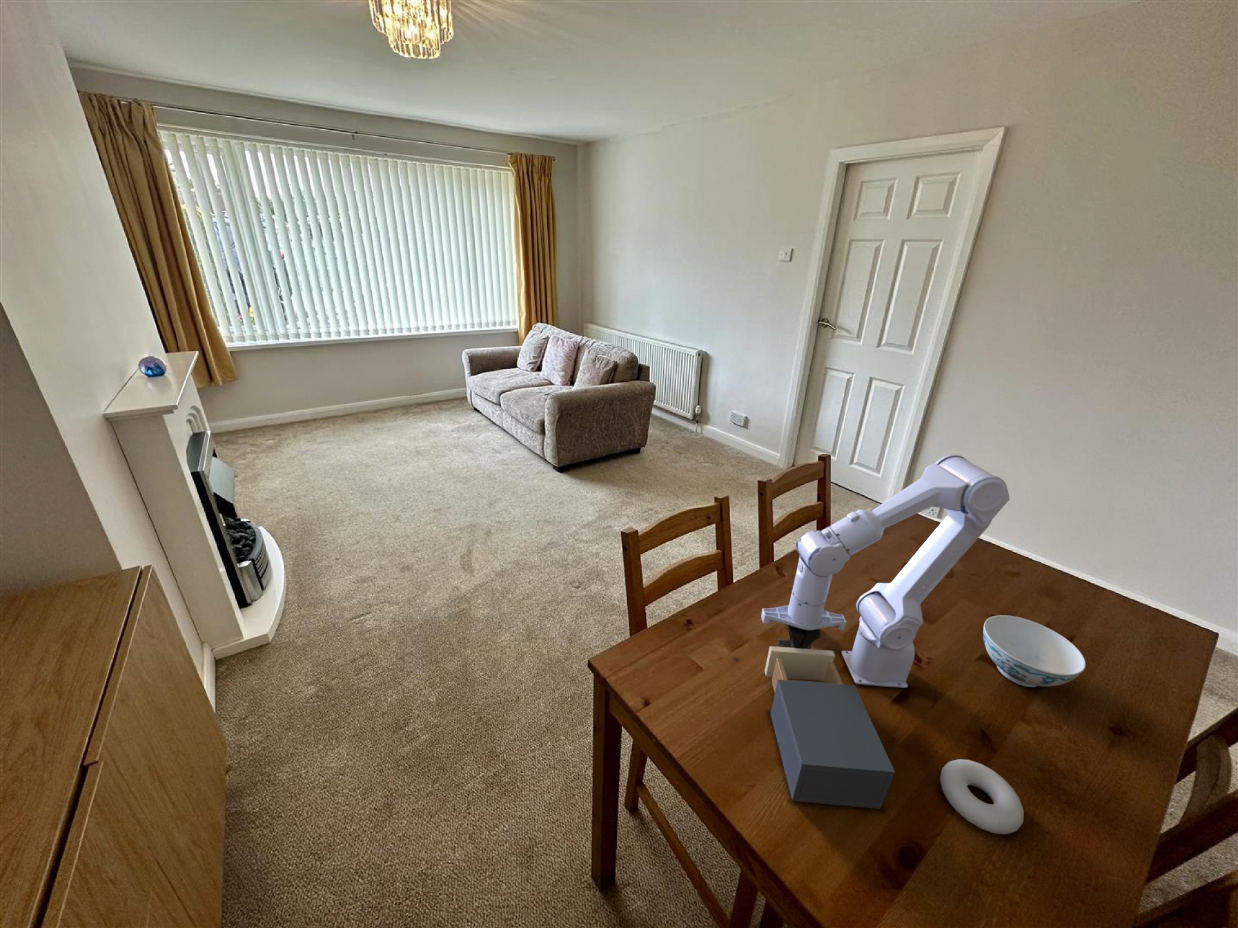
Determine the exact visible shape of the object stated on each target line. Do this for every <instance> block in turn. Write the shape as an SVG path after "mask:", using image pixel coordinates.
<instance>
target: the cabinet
mask: <svg viewBox="0 0 1238 928" xmlns="http://www.w3.org/2000/svg"><path fill="white" fill-rule="evenodd" d="M791 680H792V679H788V680H778V681H777V686H776V691H775V692H774V696H773V701H772V704H771V710H770V717H771V721H772V726H773V728H774V733H775V738H776V742H777V746H778V749H779V754H780V757H781V761H782V762H781V763H782V765H783V771H784V775H785V778H786V782H787V786H788V790H789V794H790V798H791V801H792V802H798V803H799V802H801V803H811V804H823V805H833V806H845V807H854V808H855V807H856V808H865V809H875V810H876V809H878V810H881V809H882V806H883V804H884V801H885V799H886V796H887V794H888V792H889V789H890V786H891V784H892V781H893V779H894V776H895V773H896V771H895V769H894V767H893V764H892V762H891V761H890V758H889V756H888V754H887V752H886V749H885V747H884V745H883V742H882V741H881V739H880V737H879V734H878V733H877V730H876V728H875V725H874V723H873V722H872V719H871V717H870V715H869V713H868V710H867V708H866V706H865V704H864V702H863V699H862V697H861V695H860V693H859V691H858V689H857V687H856V685H855V684H854V685H853V684H844V683H843V684H830V683H817V682H818V681H814V682H804V681H805V680H801V681H791Z"/></svg>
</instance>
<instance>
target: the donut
mask: <svg viewBox="0 0 1238 928" xmlns="http://www.w3.org/2000/svg"><path fill="white" fill-rule="evenodd" d="M939 781H940V785H941V790H942V792H943V794H944V796H945V798H946V800H947V802H948V803H949V804H950V805H951V806H952V807H953V809H954V810H955V811H956V812H957V813H958V814H959V815H960V816H961V817H963V818H964V819H965V820H966V821H967V822H969V823H971V824H972V825H974V826H976V827H977V828H979V829H980V830H982V831H983V830H984V831H985V832H989V833H992V834H998V835H1008V834H1012V833H1014V832H1017V831H1018V830H1019V829H1020V827H1021V826H1022V825H1023V823H1024V817H1025V816H1024V814H1025V811H1024V808H1023V805H1022V802H1021V799H1020V797H1019V796H1018V794H1017V793H1016V791H1015V789H1014V788H1013V787H1012V786H1011V785H1010V784H1009V783H1008V782H1007V781H1006V780H1005V779H1004V778H1003V776H1001V775H999V774H998V773H997V772H996V771H995V770H993V769H991V768H989V767H988V766H985V765H984V764H983V763H980V762H976V761H973V760H970V759H963V758H962V759H961V758H958V759H955V760H950V761H948V762H947V763H946V764H945V765H944V766H943V767H942V769H941V772H940V777H939ZM968 786H973V787H975V788H977V789H980V790H981V791H982V792H984V793H985V794H986V795H987V796H988V797H989V798H990V799H991V801H992V804H989V803H987V802H984V801H983V800H981V799H979V798H977V797H976V796H975V795H974V794H973V793H972V792H971V790H970V789H969V787H968Z"/></svg>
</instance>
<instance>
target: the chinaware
mask: <svg viewBox="0 0 1238 928" xmlns="http://www.w3.org/2000/svg"><path fill="white" fill-rule="evenodd" d="M982 638H983V639H982V640H983V644H984V647H985V649H986V652H987V654H988V655H989V657H990V659H991V660H992V662H993V663H994V664H995V665H996V668H997V669H998V671H999V672H1000V673H1001V674H1002V675H1003V676H1004V677H1005V678H1007V679H1008V680H1009V681H1011V682H1012V683H1015V684H1017V685H1020V686H1023V687H1028V688H1036V687H1056V686H1062V685H1064V684H1067V683H1069V682H1071V681H1073V680H1075V679H1076V678H1077V677H1079V676H1080V675H1081V674H1082V673H1083V672H1084V671H1085V669H1086V666H1087V665H1086V663H1087V662H1086V659H1085V657H1084V655H1083V654H1082V653H1081V651H1080V649H1078V648H1077V647H1076V646H1075V645H1074V644H1073V643H1072V642H1071V641H1070V640H1068V639H1067V638H1066V637H1065V636H1063V635H1061V634H1059V633H1058V632H1056V631H1055V630H1053V629H1051V628H1049V627H1047V626H1045V625H1043V624H1040V623H1038V622H1036V621H1032V620H1030V619H1027V618H1024V617H1019V616H1016V615H1015V616H1014V615H1008V614H1007V615H1005V614H1003V615H1002V614H999V615H993V616H990V617H988V618H987V619H986V620H985V621H984V624H983V630H982Z"/></svg>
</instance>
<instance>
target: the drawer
mask: <svg viewBox="0 0 1238 928" xmlns="http://www.w3.org/2000/svg"><path fill="white" fill-rule="evenodd" d="M776 645H777V646H772V645H771V646H769V649H768V653H767V659H766V662H765V668H764V674H765V677H769V678H771V684H772V688H773V692H774V693H775V691H776V686H777V681H778V680H789V679H790V680H791V681H802V680H803V681H804V682H815V681H816V682H817V683H830V684H843V685H844V683H843V681H842V679H841V676H840V673H839V672H838V669H837V667H836V664H835V662H834V661H835V658H836V654H835V653H834V650H827V649H815V648H813V649H812V643H811V644H810V645H809V646H808V647H807V648H806V649H801V648H790V639H787V638H786V639H785V638H778V639H777V640H776Z"/></svg>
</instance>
